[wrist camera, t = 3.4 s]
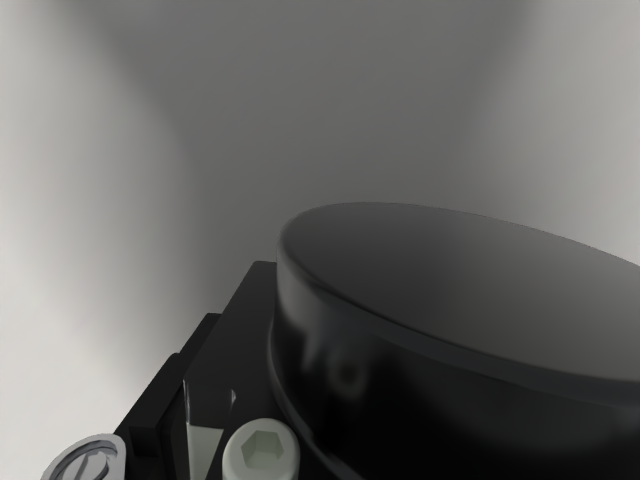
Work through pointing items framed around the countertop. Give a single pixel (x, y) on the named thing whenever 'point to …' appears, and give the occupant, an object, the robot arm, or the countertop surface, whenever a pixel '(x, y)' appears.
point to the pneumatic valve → (421, 355)
